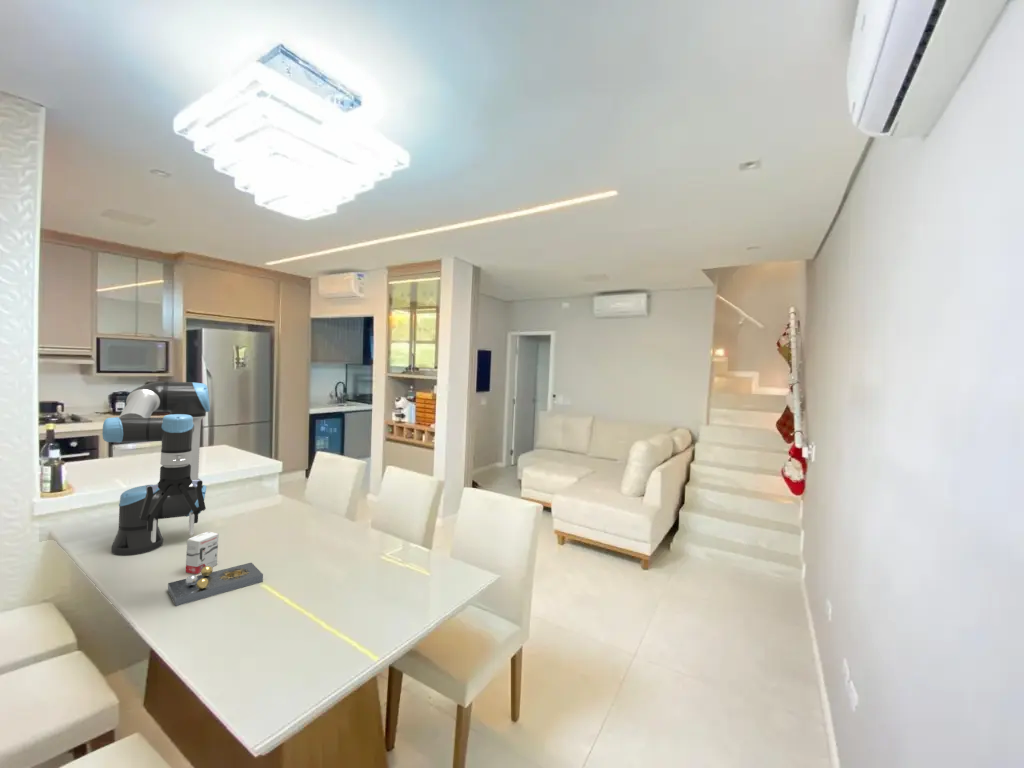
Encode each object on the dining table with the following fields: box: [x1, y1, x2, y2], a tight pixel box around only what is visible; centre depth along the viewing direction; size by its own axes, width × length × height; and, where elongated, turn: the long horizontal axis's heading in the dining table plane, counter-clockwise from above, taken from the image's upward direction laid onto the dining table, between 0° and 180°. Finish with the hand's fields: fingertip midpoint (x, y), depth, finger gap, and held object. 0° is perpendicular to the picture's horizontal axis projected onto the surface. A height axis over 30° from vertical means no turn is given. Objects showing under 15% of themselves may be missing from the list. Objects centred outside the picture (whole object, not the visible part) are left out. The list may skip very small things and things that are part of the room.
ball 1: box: [200, 566, 214, 576], centre depth 146 cm, size 3×3×3 cm
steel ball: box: [185, 574, 198, 586], centre depth 139 cm, size 3×3×3 cm
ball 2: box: [196, 578, 209, 589], centre depth 138 cm, size 3×3×3 cm
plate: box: [167, 561, 264, 607], centre depth 145 cm, size 24×12×2 cm, turn 137°
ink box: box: [185, 531, 219, 575], centre depth 155 cm, size 9×5×12 cm, turn 168°
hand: (172, 537), depth 135 cm, fingers open, 9 cm apart
